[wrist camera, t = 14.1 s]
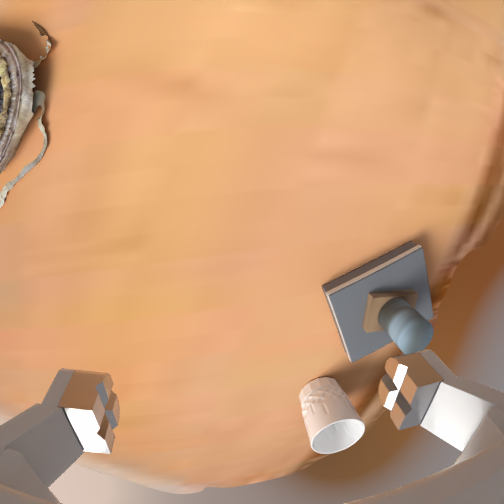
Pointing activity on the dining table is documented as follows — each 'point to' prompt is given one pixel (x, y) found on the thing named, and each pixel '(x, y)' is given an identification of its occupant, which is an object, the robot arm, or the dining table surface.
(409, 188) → the dining table surface
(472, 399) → the robot arm
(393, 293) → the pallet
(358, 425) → the white cup
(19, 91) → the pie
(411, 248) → the dock
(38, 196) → the dining table surface
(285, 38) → the dining table surface
